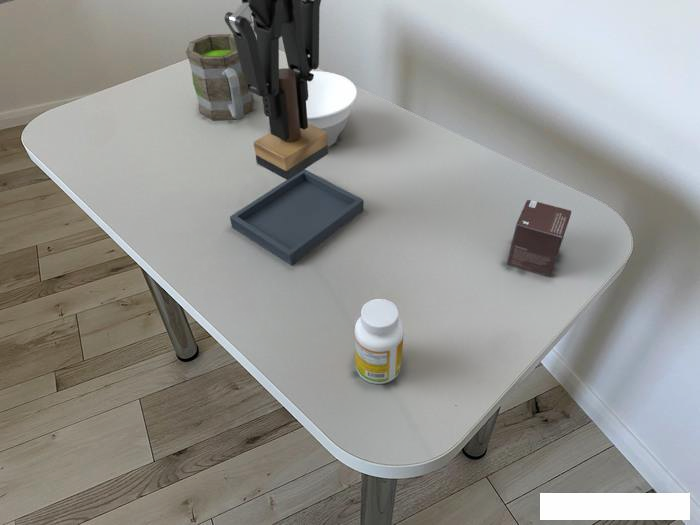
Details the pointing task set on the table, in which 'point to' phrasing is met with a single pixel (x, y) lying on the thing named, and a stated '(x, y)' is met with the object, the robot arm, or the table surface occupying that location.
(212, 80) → the mug
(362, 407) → the table surface
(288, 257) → the tray
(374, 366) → the supplement bottle
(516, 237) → the box
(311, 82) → the bowl
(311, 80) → the robot arm
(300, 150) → the peg on wooden base
